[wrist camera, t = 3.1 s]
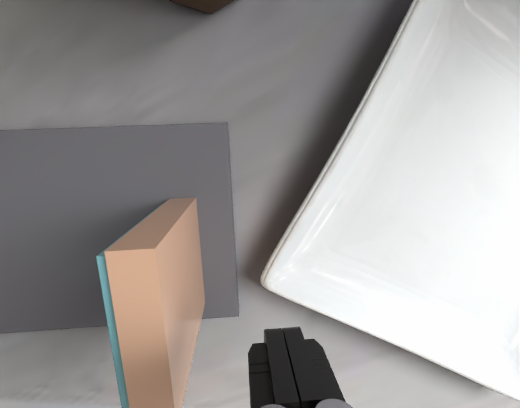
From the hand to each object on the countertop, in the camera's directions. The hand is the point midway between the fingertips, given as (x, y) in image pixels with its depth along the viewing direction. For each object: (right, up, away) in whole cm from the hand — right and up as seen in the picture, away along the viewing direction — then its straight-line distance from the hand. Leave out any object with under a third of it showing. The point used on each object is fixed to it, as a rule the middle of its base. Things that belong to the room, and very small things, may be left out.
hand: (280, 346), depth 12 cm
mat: (-14, +4, +11) cm, 18 cm away
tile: (-7, +2, +11) cm, 13 cm away
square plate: (+17, +6, +13) cm, 22 cm away
